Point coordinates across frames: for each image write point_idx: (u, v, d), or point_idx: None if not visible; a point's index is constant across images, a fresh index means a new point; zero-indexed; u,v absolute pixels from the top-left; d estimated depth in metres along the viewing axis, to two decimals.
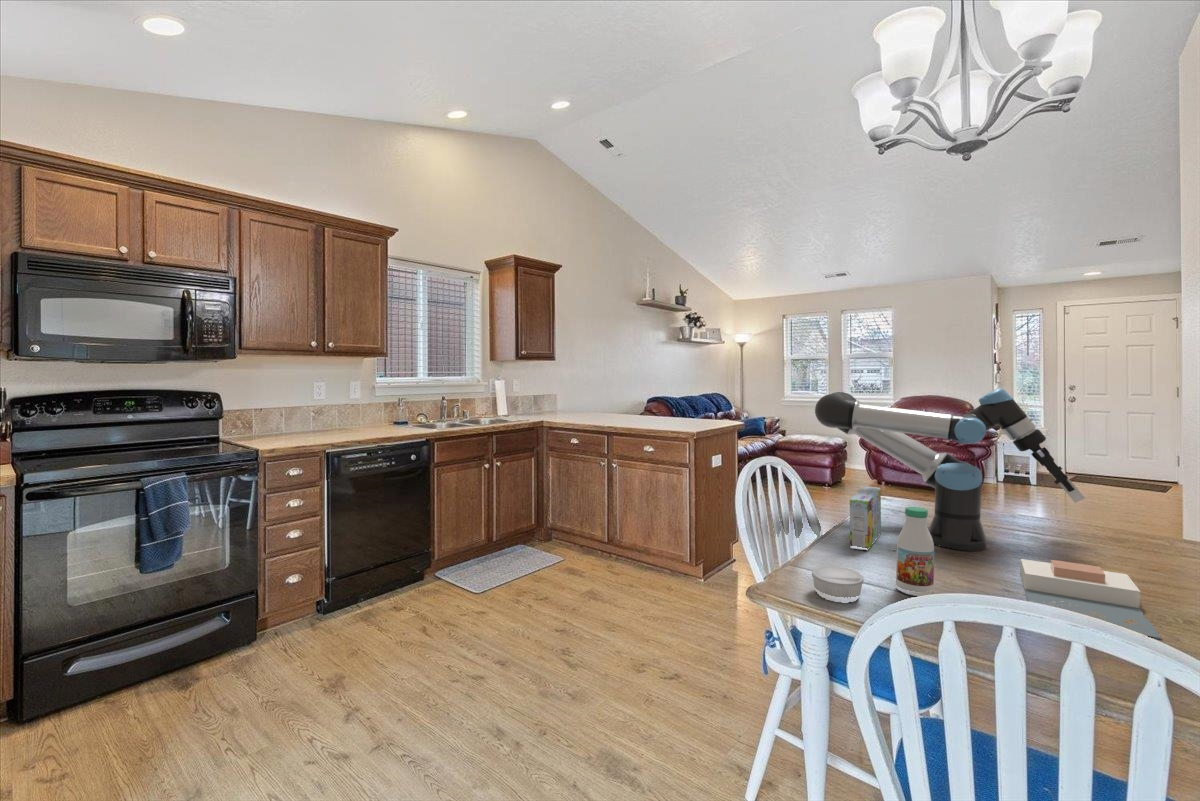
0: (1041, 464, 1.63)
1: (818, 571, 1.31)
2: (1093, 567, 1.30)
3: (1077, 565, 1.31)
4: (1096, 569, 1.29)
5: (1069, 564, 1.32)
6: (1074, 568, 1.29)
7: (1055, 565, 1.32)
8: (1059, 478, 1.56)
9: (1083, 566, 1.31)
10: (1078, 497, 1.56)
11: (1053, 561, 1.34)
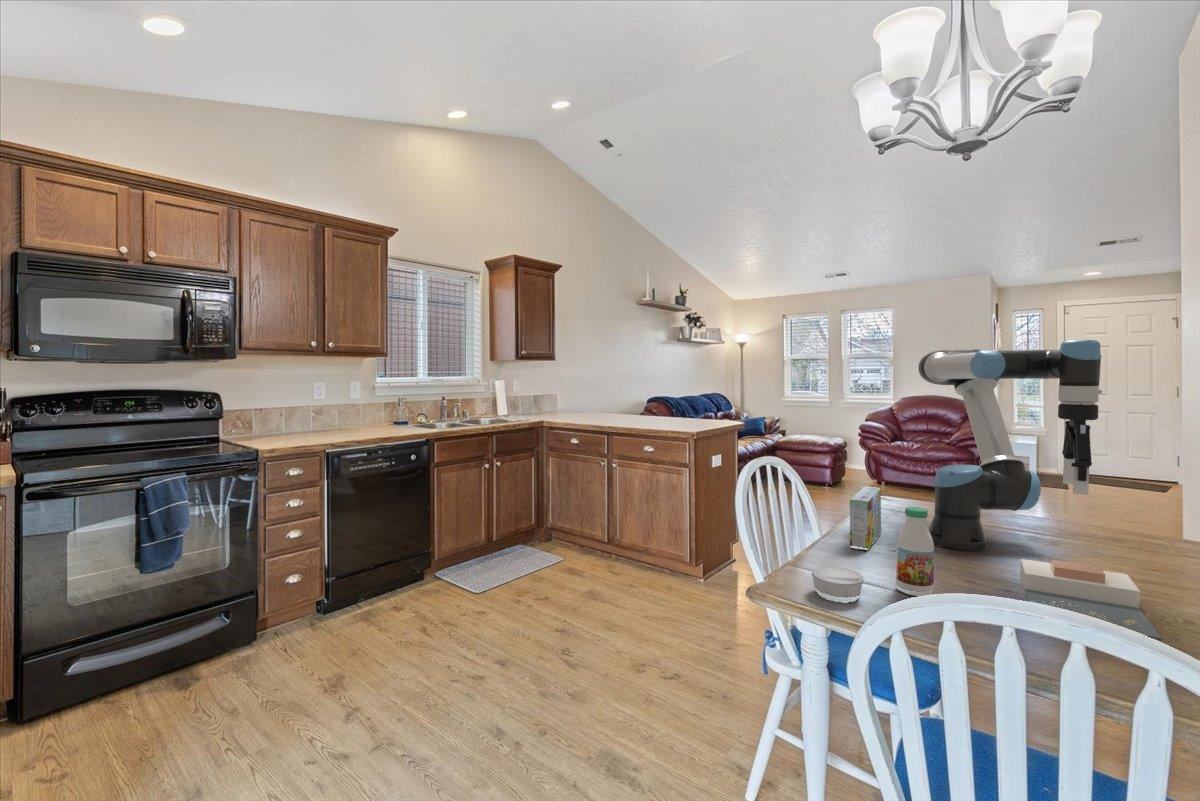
0: (1071, 440, 1.34)
1: (818, 571, 1.31)
2: (1093, 567, 1.30)
3: (1077, 565, 1.31)
4: (1096, 569, 1.29)
5: (1069, 564, 1.32)
6: (1074, 568, 1.29)
7: (1055, 565, 1.32)
8: (1082, 462, 1.29)
9: (1083, 566, 1.31)
10: (1081, 490, 1.31)
11: (1053, 561, 1.34)
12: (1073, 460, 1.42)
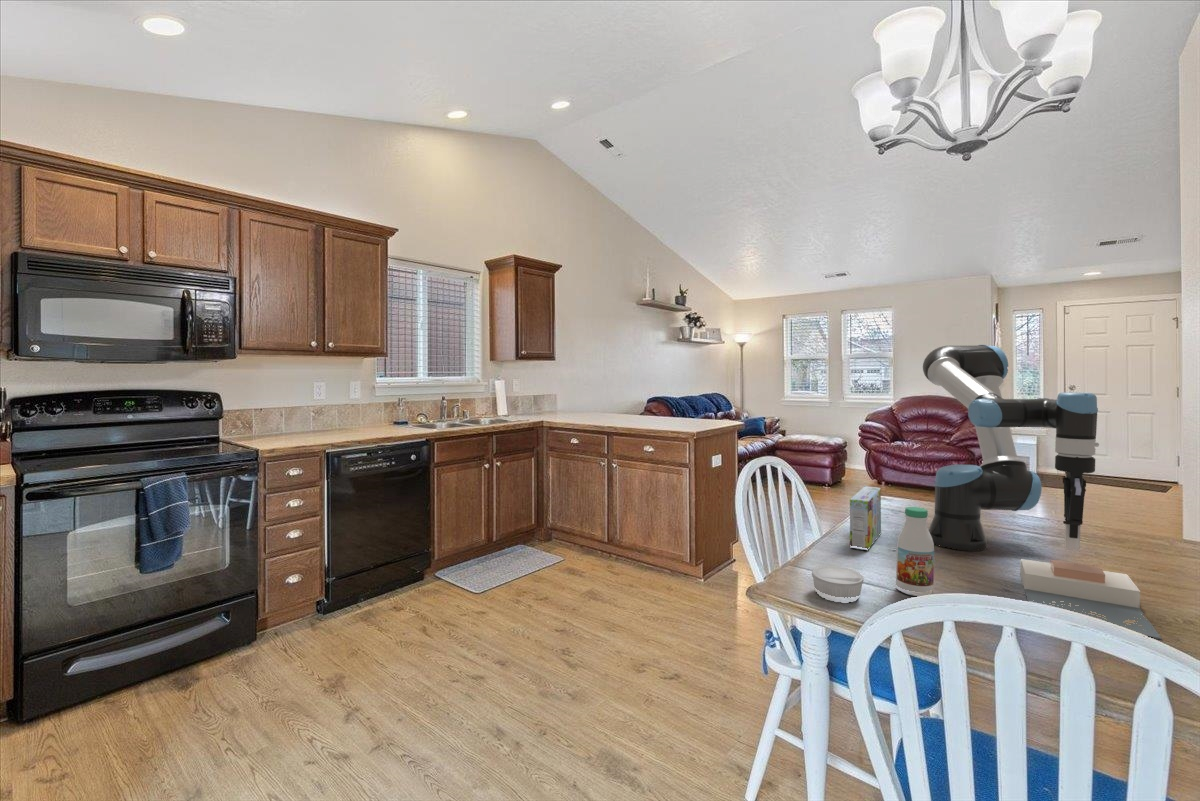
0: (1066, 495, 1.37)
1: (818, 571, 1.31)
2: (1093, 567, 1.30)
3: (1077, 565, 1.31)
4: (1096, 569, 1.29)
5: (1069, 564, 1.32)
6: (1074, 568, 1.29)
7: (1055, 565, 1.32)
8: (1073, 520, 1.34)
9: (1083, 566, 1.31)
10: (1073, 547, 1.37)
11: (1053, 561, 1.34)
12: None
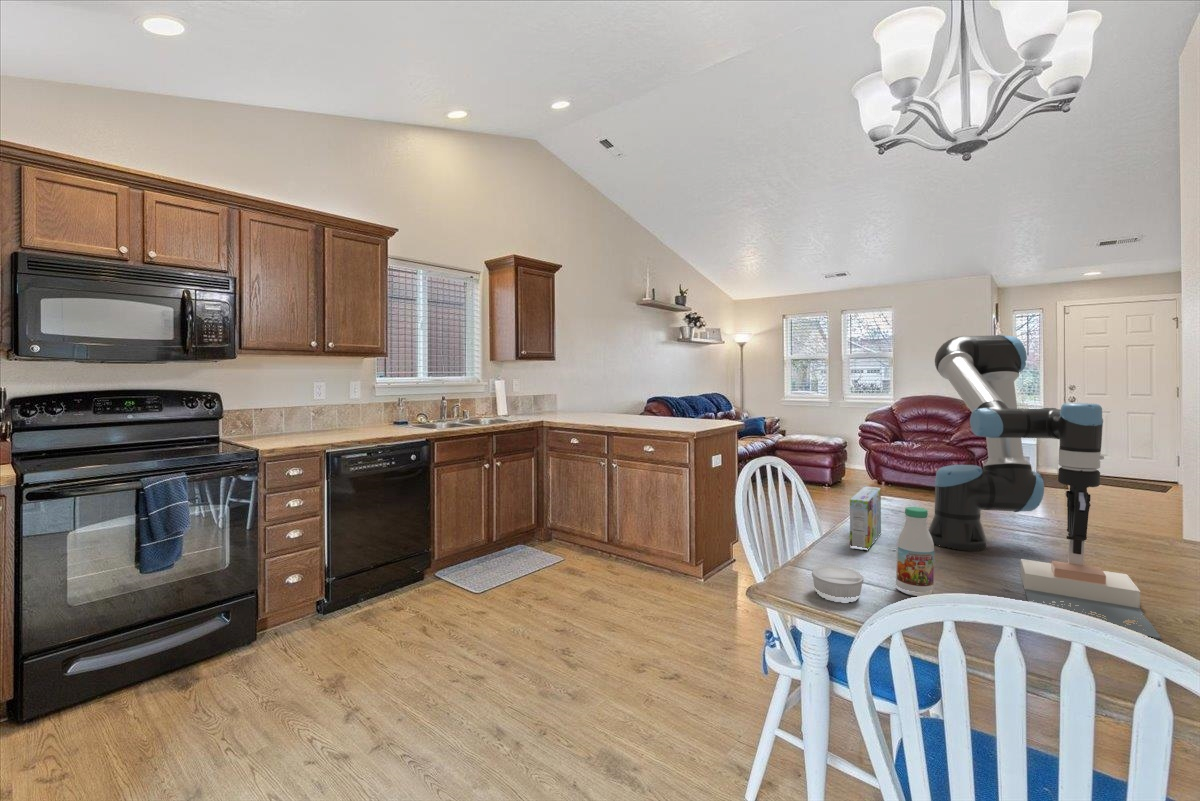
0: (1069, 510, 1.32)
1: (818, 571, 1.31)
2: (1094, 568, 1.29)
3: (1078, 566, 1.31)
4: (1097, 570, 1.28)
5: (1070, 565, 1.31)
6: (1075, 569, 1.29)
7: (1056, 566, 1.31)
8: (1077, 536, 1.30)
9: (1084, 567, 1.30)
10: (1077, 563, 1.32)
11: (1054, 562, 1.34)
12: None
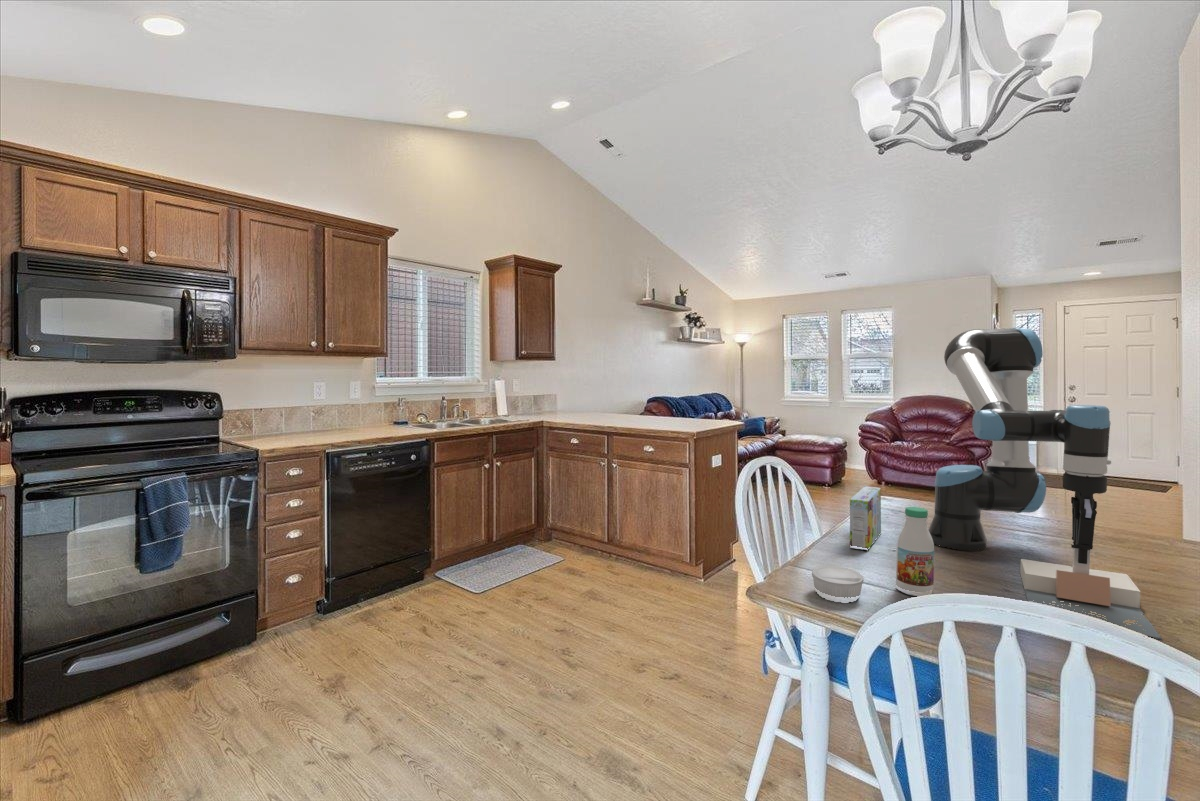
0: (1075, 517, 1.26)
1: (818, 571, 1.31)
2: (1101, 583, 1.22)
3: (1084, 582, 1.24)
4: (1104, 588, 1.22)
5: (1075, 581, 1.25)
6: (1079, 594, 1.24)
7: (1059, 590, 1.26)
8: (1082, 545, 1.24)
9: (1090, 583, 1.23)
10: (1082, 572, 1.26)
11: (1059, 574, 1.26)
12: None
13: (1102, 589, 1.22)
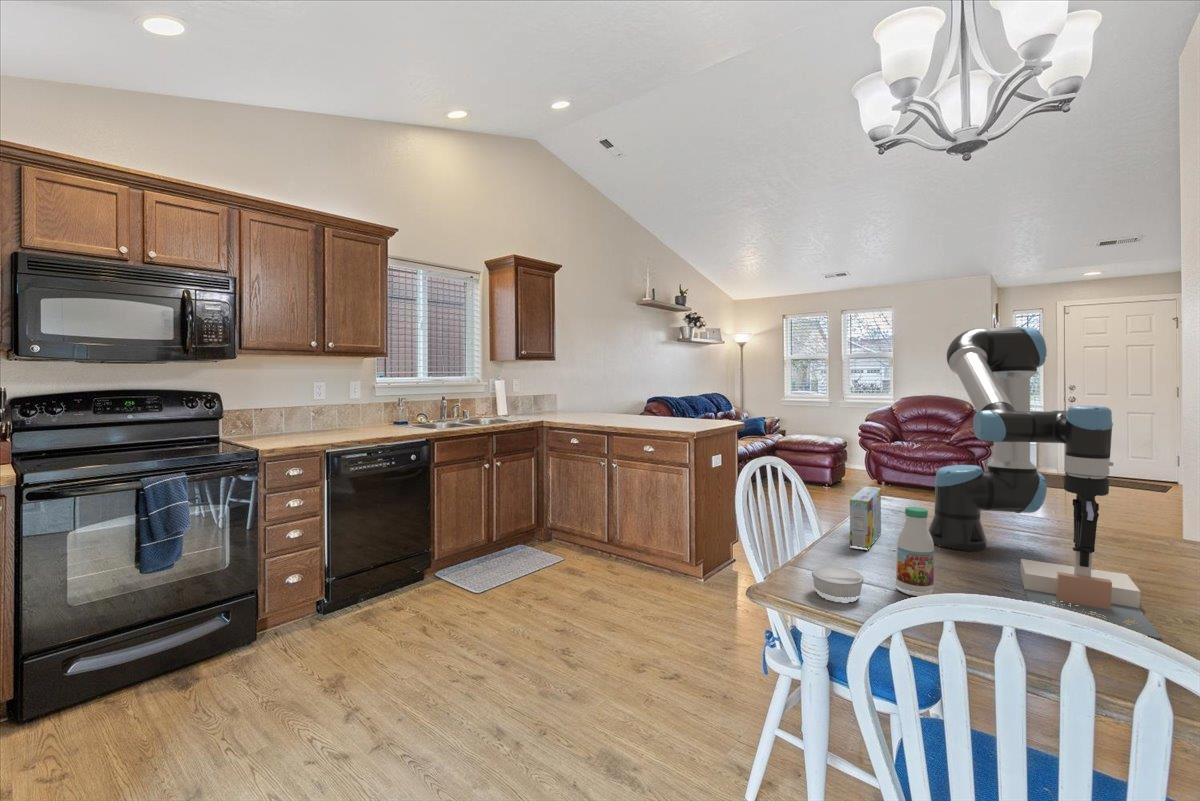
0: (1076, 519, 1.24)
1: (818, 571, 1.31)
2: (1103, 588, 1.21)
3: (1085, 586, 1.23)
4: (1105, 592, 1.21)
5: (1077, 585, 1.23)
6: (1079, 598, 1.23)
7: (1059, 594, 1.25)
8: (1084, 548, 1.22)
9: (1092, 588, 1.22)
10: None
11: (1060, 579, 1.25)
12: None
13: (1103, 593, 1.21)
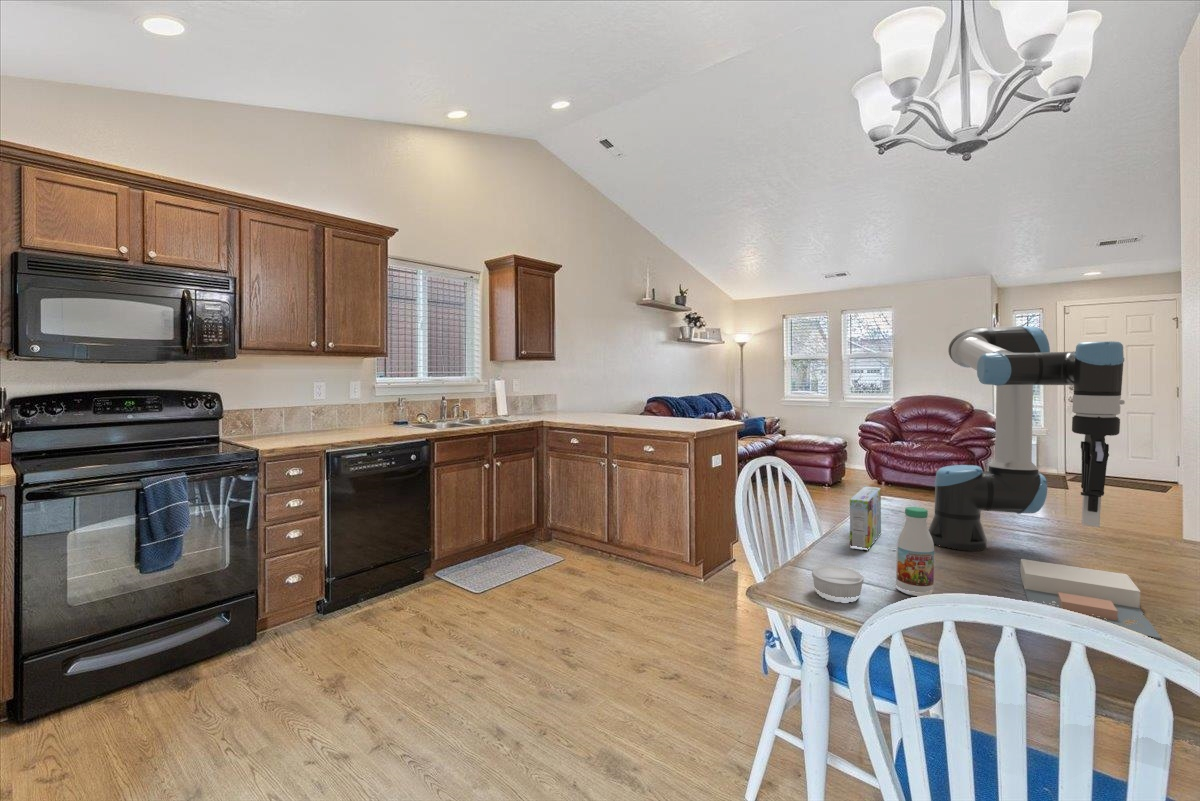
0: (1084, 462, 1.17)
1: (818, 571, 1.31)
2: None
3: None
4: None
5: None
6: None
7: None
8: (1093, 491, 1.15)
9: None
10: (1092, 522, 1.17)
11: None
12: None
13: None
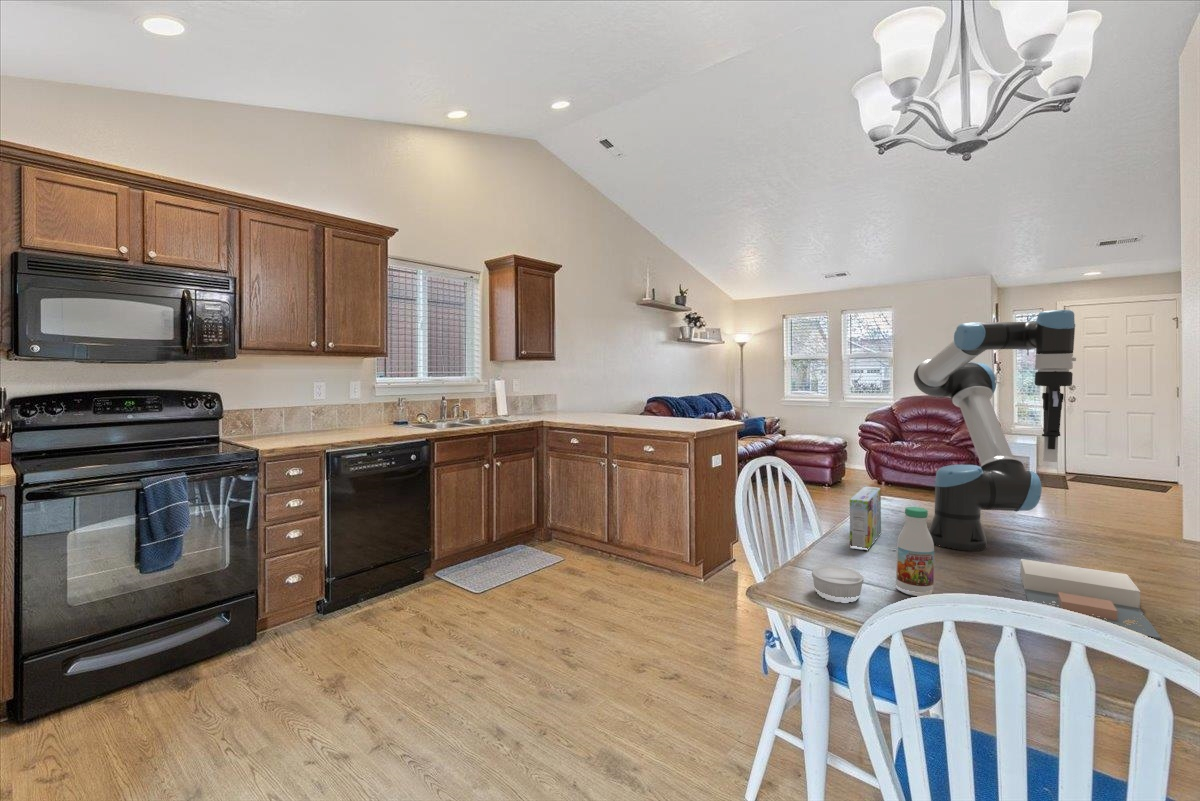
0: (1044, 409, 1.44)
1: (818, 571, 1.31)
2: None
3: None
4: None
5: None
6: None
7: None
8: (1051, 431, 1.42)
9: None
10: (1051, 458, 1.44)
11: None
12: None
13: None
